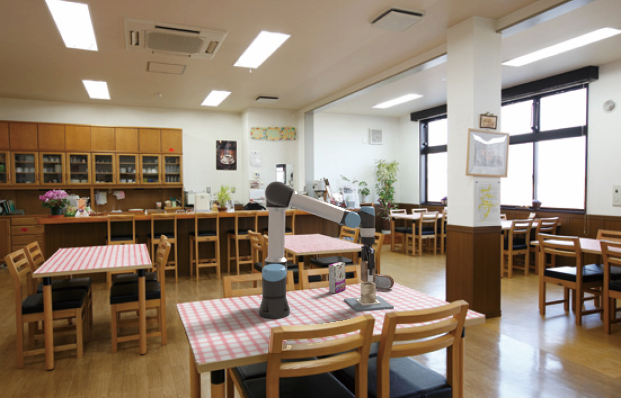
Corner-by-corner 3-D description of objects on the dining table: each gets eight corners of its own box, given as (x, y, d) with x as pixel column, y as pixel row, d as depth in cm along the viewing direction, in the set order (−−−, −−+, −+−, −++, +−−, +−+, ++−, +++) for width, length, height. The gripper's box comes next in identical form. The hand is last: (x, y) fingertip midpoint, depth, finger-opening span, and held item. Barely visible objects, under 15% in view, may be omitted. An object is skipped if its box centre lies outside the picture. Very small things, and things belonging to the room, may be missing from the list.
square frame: (362, 305, 207) (362, 304, 207) (355, 300, 217) (355, 298, 217) (380, 304, 210) (380, 302, 210) (373, 299, 219) (373, 297, 219)
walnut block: (364, 282, 210) (364, 263, 209) (360, 279, 215) (360, 261, 215) (375, 281, 211) (375, 262, 211) (371, 279, 217) (371, 260, 216)
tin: (394, 289, 244) (394, 275, 244) (392, 290, 242) (392, 276, 241) (371, 286, 252) (371, 272, 252) (369, 287, 250) (368, 273, 250)
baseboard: (356, 311, 201) (356, 309, 201) (344, 300, 221) (344, 298, 221) (393, 308, 206) (393, 306, 206) (378, 297, 225) (378, 296, 225)
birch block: (364, 304, 210) (364, 285, 209) (360, 301, 216) (360, 282, 215) (375, 303, 211) (375, 284, 211) (371, 300, 217) (371, 281, 217)
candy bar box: (338, 288, 247) (338, 261, 246) (345, 289, 244) (345, 262, 243) (328, 292, 238) (328, 264, 238) (335, 293, 235) (335, 265, 235)
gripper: (381, 237, 204) (381, 283, 205) (368, 233, 223) (368, 275, 223) (367, 238, 202) (367, 284, 203) (355, 234, 221) (355, 276, 222)
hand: (367, 279), depth 213 cm, fingers closed on walnut block, 6 cm apart
